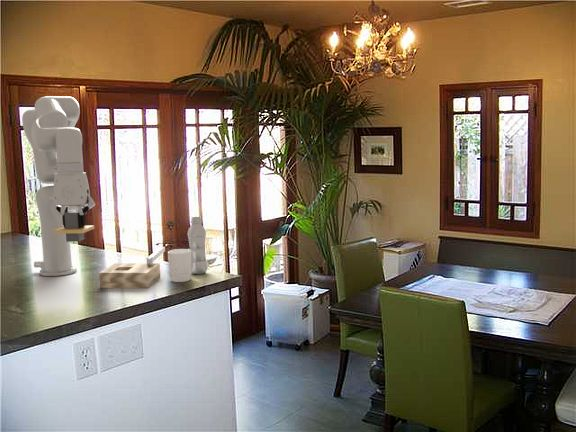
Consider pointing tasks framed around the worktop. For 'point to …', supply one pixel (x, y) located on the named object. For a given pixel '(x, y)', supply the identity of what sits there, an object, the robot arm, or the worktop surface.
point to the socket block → (129, 275)
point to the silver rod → (155, 256)
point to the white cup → (180, 265)
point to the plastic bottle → (197, 246)
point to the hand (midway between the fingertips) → (74, 226)
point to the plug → (73, 227)
